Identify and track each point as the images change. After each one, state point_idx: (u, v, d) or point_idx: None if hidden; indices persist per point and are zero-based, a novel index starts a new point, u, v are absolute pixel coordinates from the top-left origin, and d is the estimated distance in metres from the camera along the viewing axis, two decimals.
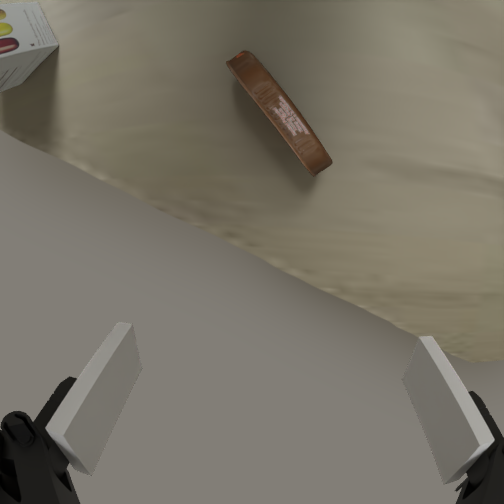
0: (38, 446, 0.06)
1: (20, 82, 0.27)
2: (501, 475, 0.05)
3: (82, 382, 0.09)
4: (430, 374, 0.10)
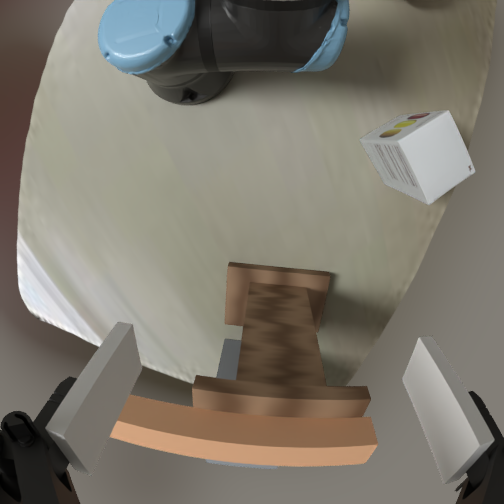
0: (38, 446, 0.06)
1: None
2: (501, 475, 0.05)
3: (82, 382, 0.09)
4: (430, 374, 0.10)
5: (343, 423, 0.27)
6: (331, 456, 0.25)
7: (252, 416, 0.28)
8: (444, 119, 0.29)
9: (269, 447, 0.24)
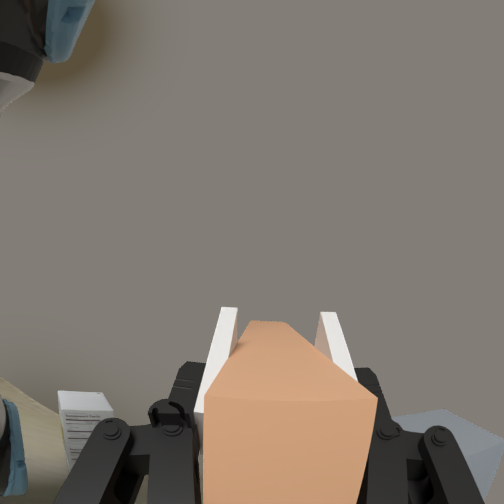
0: (185, 437, 0.08)
1: None
2: (383, 461, 0.07)
3: (214, 363, 0.11)
4: (324, 347, 0.13)
5: None
6: None
7: None
8: (61, 393, 0.41)
9: (248, 328, 0.25)
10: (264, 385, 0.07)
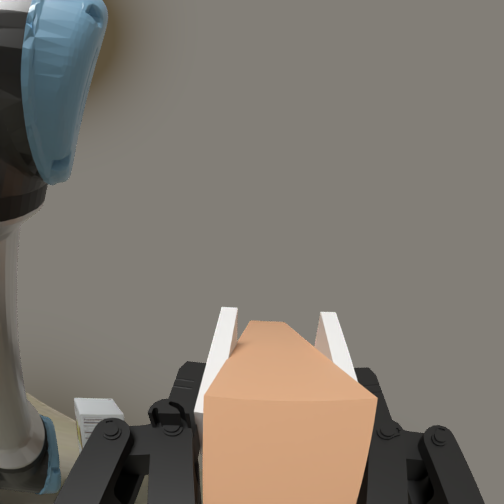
0: (185, 437, 0.08)
1: None
2: (383, 461, 0.07)
3: (214, 363, 0.11)
4: (324, 347, 0.13)
5: None
6: None
7: None
8: (78, 399, 0.49)
9: (247, 328, 0.25)
10: (264, 385, 0.07)
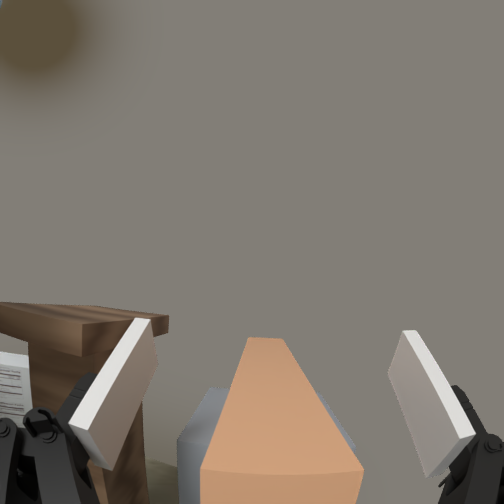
0: (60, 443, 0.06)
1: None
2: (484, 471, 0.05)
3: (104, 377, 0.09)
4: (413, 368, 0.11)
5: None
6: (264, 342, 0.31)
7: None
8: None
9: (245, 351, 0.24)
10: (257, 452, 0.07)
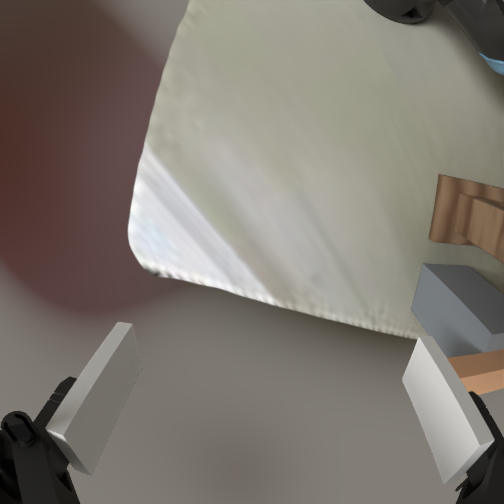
0: (38, 446, 0.06)
1: None
2: (501, 475, 0.05)
3: (82, 382, 0.09)
4: (430, 374, 0.10)
5: None
6: None
7: None
8: None
9: None
10: None
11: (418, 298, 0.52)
